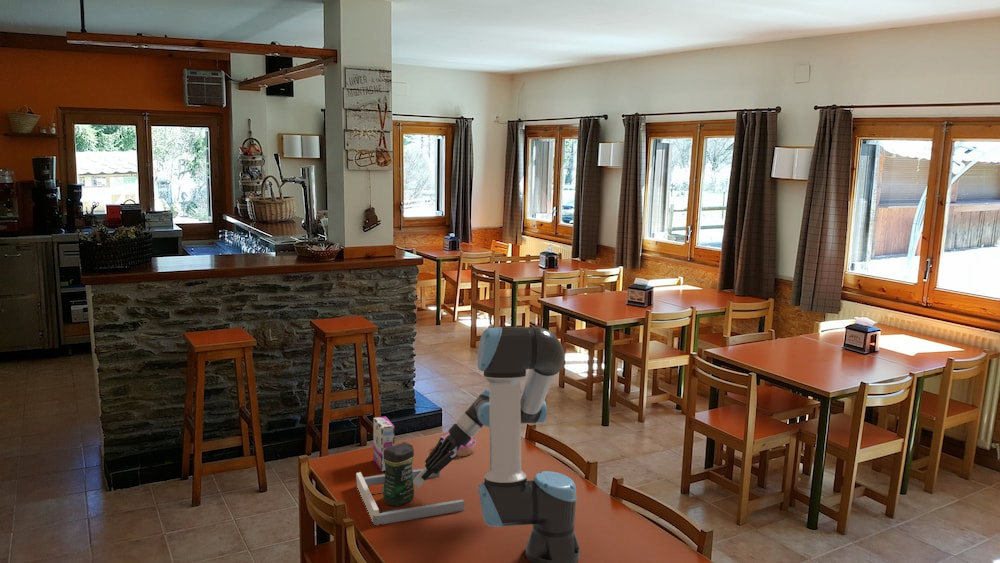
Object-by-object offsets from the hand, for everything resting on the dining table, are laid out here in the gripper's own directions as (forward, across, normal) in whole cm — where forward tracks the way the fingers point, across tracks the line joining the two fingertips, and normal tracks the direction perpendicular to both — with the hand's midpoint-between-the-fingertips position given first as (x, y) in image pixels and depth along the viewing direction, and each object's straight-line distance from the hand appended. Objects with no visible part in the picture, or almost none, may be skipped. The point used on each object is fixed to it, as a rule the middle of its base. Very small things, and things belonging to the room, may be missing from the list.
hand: (415, 485), depth 235 cm
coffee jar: (+7, -1, +1) cm, 7 cm away
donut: (-14, +31, -21) cm, 40 cm away
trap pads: (+8, -1, +3) cm, 9 cm away
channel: (+4, -1, -1) cm, 5 cm away
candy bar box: (+6, +26, 0) cm, 27 cm away
